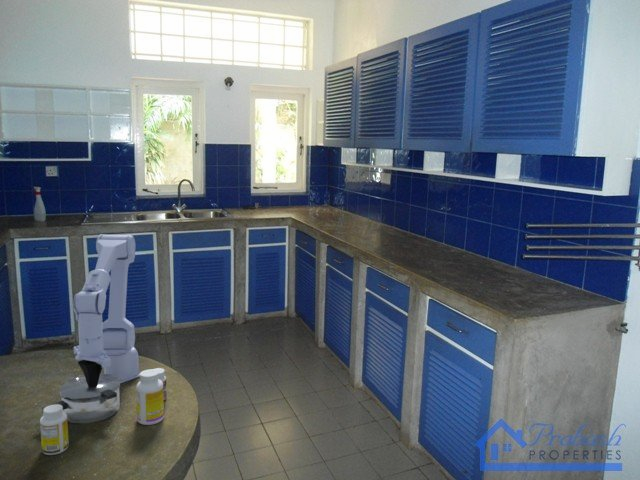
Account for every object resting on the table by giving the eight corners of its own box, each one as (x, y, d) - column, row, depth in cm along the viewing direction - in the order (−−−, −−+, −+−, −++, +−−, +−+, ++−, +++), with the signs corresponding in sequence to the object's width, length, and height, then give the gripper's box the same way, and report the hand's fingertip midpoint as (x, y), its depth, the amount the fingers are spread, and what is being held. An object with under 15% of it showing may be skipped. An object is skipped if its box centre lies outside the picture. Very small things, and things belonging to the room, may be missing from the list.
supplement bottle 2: (169, 416, 134) (168, 370, 132) (153, 428, 128) (152, 380, 126) (147, 411, 136) (146, 365, 134) (131, 423, 130) (130, 375, 128)
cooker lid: (100, 373, 146) (100, 369, 145) (137, 388, 135) (137, 384, 135) (48, 390, 134) (47, 386, 134) (84, 409, 123) (84, 404, 123)
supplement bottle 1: (62, 440, 122) (60, 400, 120) (73, 449, 118) (71, 407, 116) (37, 449, 117) (35, 408, 116) (48, 459, 114) (45, 416, 112)
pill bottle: (161, 404, 141) (160, 375, 139) (145, 401, 142) (145, 373, 140) (169, 396, 145) (169, 368, 144) (154, 394, 146) (153, 366, 145)
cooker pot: (101, 392, 146) (101, 374, 145) (130, 408, 138) (129, 389, 137) (32, 418, 131) (31, 398, 130) (59, 437, 123) (58, 416, 122)
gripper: (61, 333, 133) (63, 382, 135) (91, 347, 125) (93, 399, 127) (87, 327, 139) (89, 374, 141) (117, 340, 130) (119, 390, 132)
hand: (92, 385), depth 134 cm, fingers closed
